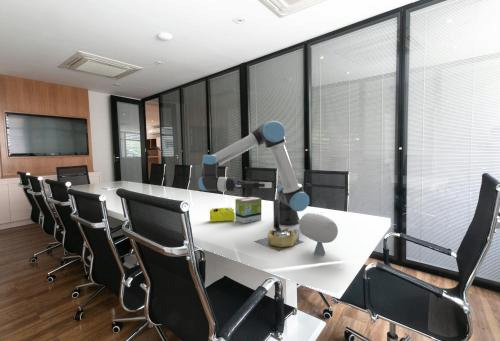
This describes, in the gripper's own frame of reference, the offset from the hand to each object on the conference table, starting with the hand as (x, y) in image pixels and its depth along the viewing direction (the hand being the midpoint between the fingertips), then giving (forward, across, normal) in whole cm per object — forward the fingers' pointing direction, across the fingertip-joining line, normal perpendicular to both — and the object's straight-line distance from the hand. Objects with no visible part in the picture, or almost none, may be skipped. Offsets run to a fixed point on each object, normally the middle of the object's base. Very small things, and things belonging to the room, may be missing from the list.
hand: (271, 185), depth 130 cm
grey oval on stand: (+22, +15, -28) cm, 39 cm away
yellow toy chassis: (-37, -29, -28) cm, 55 cm away
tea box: (-20, -34, -28) cm, 48 cm away
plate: (+5, +6, -28) cm, 29 cm away
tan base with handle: (+5, +6, -27) cm, 28 cm away
